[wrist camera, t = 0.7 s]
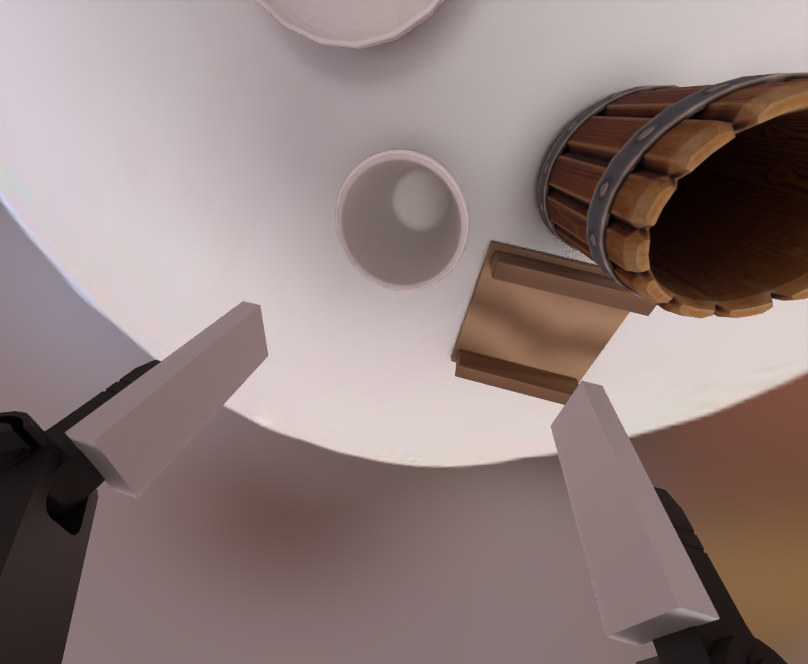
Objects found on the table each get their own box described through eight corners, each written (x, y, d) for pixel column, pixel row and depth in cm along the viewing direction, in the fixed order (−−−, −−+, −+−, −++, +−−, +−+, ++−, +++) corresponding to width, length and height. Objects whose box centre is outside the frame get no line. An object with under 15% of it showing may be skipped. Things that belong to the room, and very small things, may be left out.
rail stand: (491, 240, 27) (494, 254, 24) (647, 277, 26) (671, 296, 23) (451, 356, 35) (449, 378, 32) (569, 387, 34) (579, 412, 31)
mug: (545, 260, 27) (606, 363, 15) (523, 132, 22) (585, 127, 10) (776, 194, 22) (1177, 273, 9) (812, 5, 17) (1722, -343, 5)
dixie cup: (408, 120, 23) (374, 112, 15) (490, 186, 25) (500, 212, 17) (360, 212, 28) (314, 244, 20) (432, 264, 29) (416, 313, 21)
